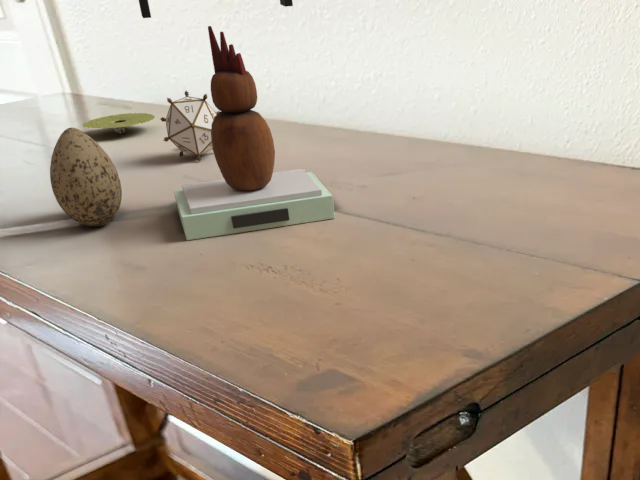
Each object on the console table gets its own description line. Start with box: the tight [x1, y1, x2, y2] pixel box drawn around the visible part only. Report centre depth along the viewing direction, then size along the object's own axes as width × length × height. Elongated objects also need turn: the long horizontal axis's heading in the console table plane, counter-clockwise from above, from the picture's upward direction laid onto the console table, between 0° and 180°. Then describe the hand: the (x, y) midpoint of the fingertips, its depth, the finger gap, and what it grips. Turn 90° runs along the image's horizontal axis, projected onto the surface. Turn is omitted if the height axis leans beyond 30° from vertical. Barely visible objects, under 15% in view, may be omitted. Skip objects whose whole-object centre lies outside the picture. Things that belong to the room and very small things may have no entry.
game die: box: [159, 90, 221, 163], centre depth 112 cm, size 9×8×10 cm
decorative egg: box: [49, 127, 123, 228], centre depth 88 cm, size 7×7×10 cm
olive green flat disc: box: [82, 112, 155, 135], centre depth 130 cm, size 11×11×2 cm
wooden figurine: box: [207, 25, 276, 191], centre depth 84 cm, size 7×6×15 cm
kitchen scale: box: [173, 168, 336, 241], centre depth 90 cm, size 16×11×3 cm
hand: (217, 11), depth 79 cm, fingers open, 13 cm apart
